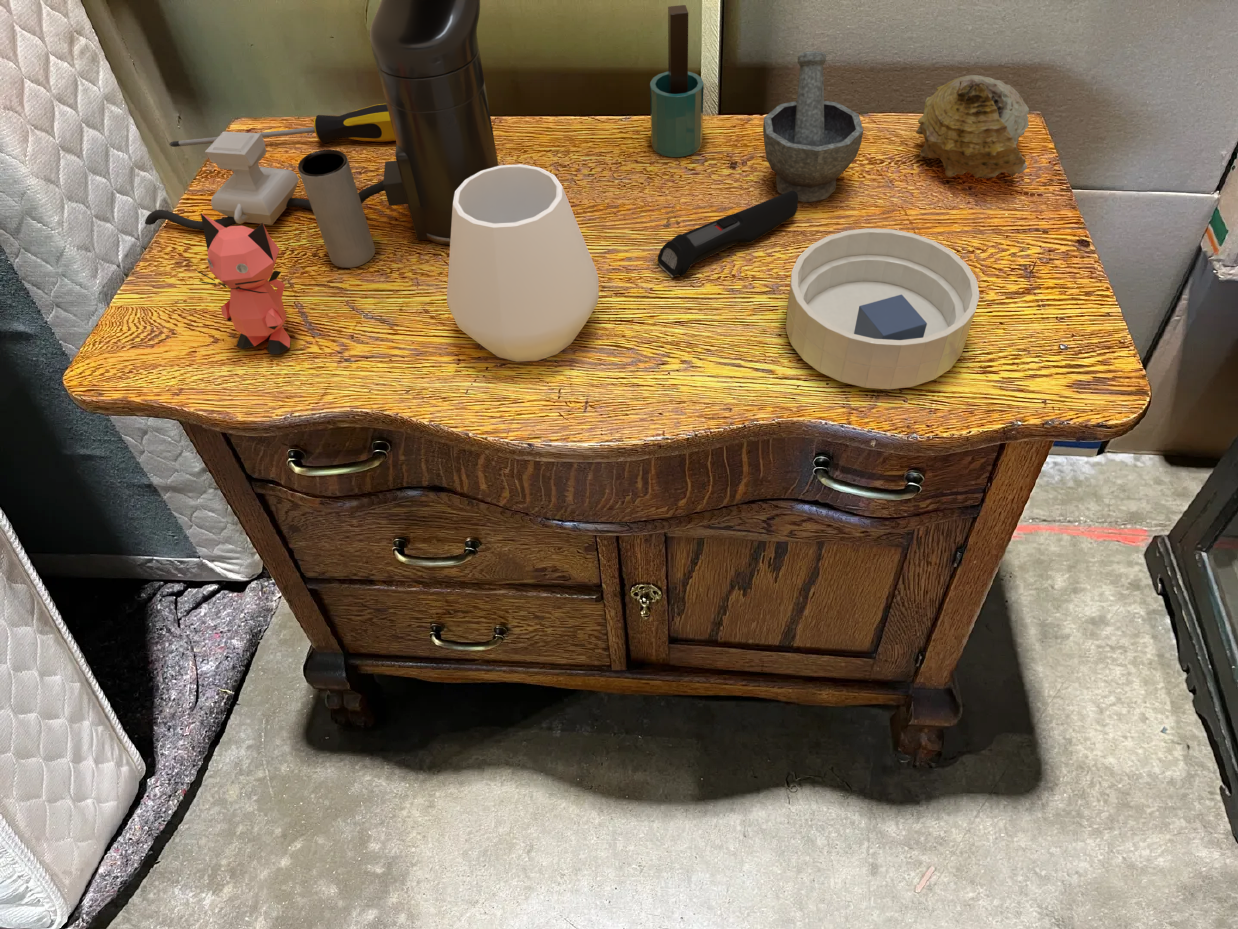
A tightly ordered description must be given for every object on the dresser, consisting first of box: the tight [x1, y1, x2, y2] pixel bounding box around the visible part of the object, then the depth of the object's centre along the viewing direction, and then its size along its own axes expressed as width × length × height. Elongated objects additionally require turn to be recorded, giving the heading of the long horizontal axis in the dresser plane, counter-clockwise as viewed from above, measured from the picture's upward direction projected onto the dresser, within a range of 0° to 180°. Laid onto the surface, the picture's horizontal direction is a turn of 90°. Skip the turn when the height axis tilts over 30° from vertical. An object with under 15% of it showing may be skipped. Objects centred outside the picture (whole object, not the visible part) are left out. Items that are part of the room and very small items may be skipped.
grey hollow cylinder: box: [297, 149, 376, 269], centre depth 87 cm, size 4×4×10 cm
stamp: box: [204, 131, 300, 226], centre depth 93 cm, size 9×7×8 cm
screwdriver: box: [169, 103, 396, 148], centre depth 104 cm, size 3×3×30 cm
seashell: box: [915, 74, 1030, 179], centre depth 94 cm, size 11×14×10 cm
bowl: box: [785, 227, 980, 390], centre depth 77 cm, size 15×15×6 cm
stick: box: [667, 4, 689, 94], centre depth 95 cm, size 2×2×14 cm
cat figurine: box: [194, 212, 291, 355], centre depth 79 cm, size 7×7×12 cm
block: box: [854, 294, 927, 340], centre depth 76 cm, size 4×4×4 cm
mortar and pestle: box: [762, 50, 864, 203], centre depth 90 cm, size 11×9×12 cm
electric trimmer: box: [657, 191, 799, 278], centre depth 88 cm, size 4×16×3 cm, turn 122°
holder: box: [649, 70, 705, 158], centre depth 98 cm, size 6×6×7 cm
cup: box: [446, 163, 600, 363], centre depth 77 cm, size 13×13×14 cm
